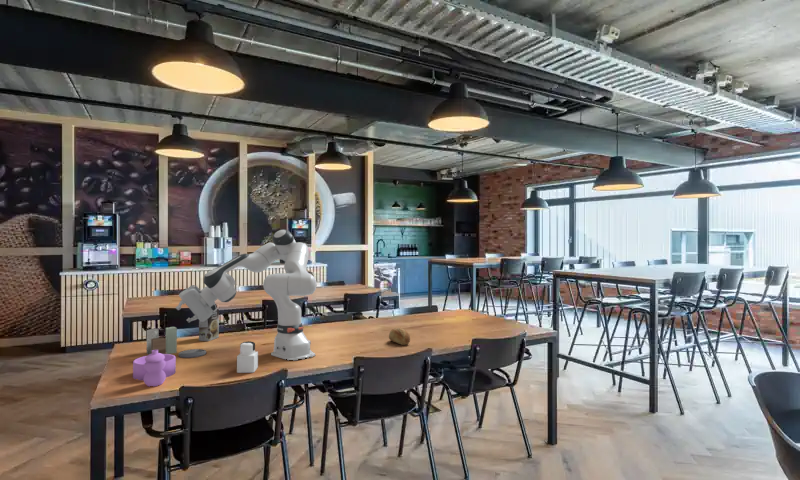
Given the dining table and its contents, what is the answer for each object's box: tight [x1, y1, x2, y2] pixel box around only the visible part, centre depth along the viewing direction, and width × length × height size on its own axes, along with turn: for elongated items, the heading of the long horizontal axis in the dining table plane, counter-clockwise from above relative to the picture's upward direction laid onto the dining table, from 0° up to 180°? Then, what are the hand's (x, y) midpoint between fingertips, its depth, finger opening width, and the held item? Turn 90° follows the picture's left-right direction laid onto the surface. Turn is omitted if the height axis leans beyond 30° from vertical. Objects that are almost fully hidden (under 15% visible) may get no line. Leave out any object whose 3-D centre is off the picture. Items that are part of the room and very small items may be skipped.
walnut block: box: [151, 337, 167, 354], centre depth 203 cm, size 5×5×9 cm
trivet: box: [177, 348, 207, 359], centre depth 210 cm, size 12×12×1 cm
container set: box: [132, 350, 177, 387], centre depth 176 cm, size 25×15×13 cm, turn 29°
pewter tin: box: [146, 328, 160, 355], centre depth 212 cm, size 5×5×11 cm
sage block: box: [165, 326, 178, 355], centre depth 213 cm, size 4×4×12 cm
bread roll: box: [388, 327, 411, 346], centre depth 237 cm, size 10×15×8 cm, turn 34°
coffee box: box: [198, 308, 220, 342], centre depth 241 cm, size 9×6×16 cm
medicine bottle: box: [236, 340, 259, 374], centre depth 187 cm, size 7×7×12 cm
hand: (182, 315), depth 221 cm, fingers open, 8 cm apart
